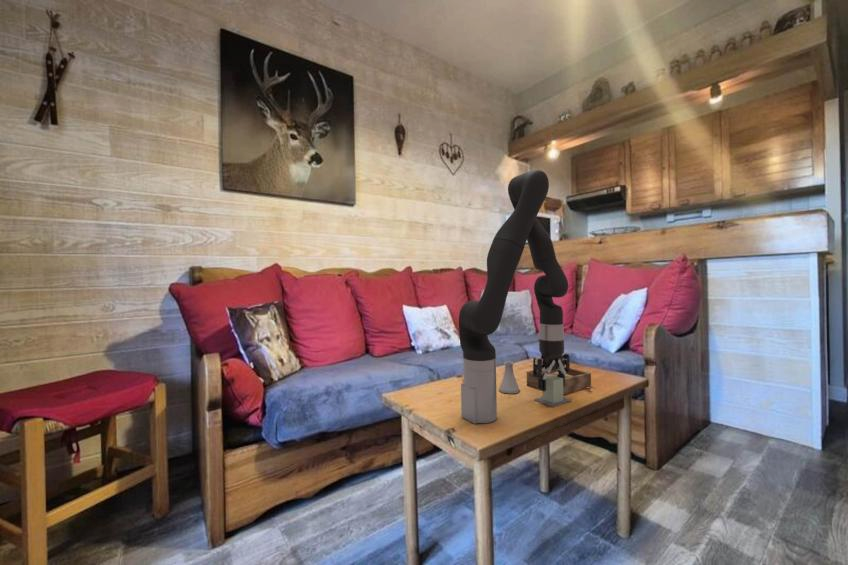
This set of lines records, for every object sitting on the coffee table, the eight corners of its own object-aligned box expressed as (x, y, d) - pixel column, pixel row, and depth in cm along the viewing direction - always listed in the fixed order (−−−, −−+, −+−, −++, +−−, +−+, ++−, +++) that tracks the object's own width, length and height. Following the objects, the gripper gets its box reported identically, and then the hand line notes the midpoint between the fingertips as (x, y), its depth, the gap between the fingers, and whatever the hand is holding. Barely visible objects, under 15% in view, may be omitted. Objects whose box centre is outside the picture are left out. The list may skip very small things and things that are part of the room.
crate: (558, 396, 119) (558, 381, 118) (526, 385, 131) (526, 371, 131) (591, 387, 127) (590, 373, 127) (558, 378, 139) (558, 365, 139)
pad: (551, 407, 109) (551, 405, 109) (534, 400, 115) (534, 399, 115) (571, 401, 114) (571, 400, 114) (553, 395, 120) (553, 394, 120)
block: (553, 403, 111) (553, 380, 111) (542, 399, 115) (541, 377, 115) (563, 400, 113) (563, 378, 113) (551, 396, 117) (551, 375, 117)
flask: (518, 387, 128) (517, 360, 128) (521, 394, 121) (521, 365, 121) (497, 387, 129) (497, 360, 129) (499, 394, 122) (499, 365, 122)
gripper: (544, 341, 107) (545, 395, 107) (576, 337, 114) (576, 387, 115) (526, 338, 114) (526, 389, 114) (557, 334, 121) (557, 382, 121)
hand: (551, 388), depth 114 cm, fingers open, 8 cm apart
